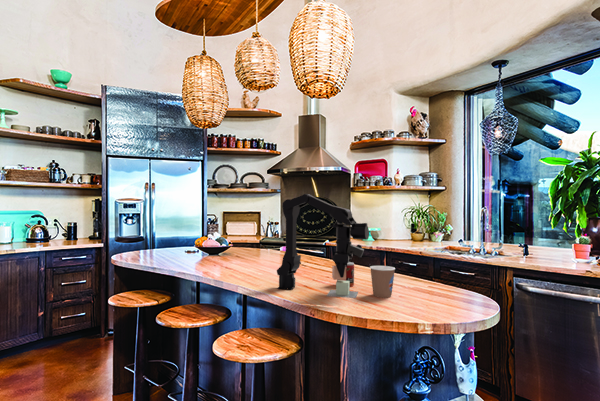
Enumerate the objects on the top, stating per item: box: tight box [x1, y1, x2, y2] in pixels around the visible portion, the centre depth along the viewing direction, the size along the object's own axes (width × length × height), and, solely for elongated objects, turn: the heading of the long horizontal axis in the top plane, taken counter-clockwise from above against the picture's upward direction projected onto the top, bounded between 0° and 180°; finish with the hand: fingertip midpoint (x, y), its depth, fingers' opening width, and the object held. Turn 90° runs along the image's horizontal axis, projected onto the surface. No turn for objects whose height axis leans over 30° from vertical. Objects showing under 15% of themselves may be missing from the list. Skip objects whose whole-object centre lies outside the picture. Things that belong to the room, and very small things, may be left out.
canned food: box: [336, 261, 355, 288], centre depth 170 cm, size 8×8×11 cm
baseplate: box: [326, 289, 359, 299], centre depth 153 cm, size 12×12×1 cm
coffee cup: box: [369, 265, 396, 299], centre depth 151 cm, size 10×10×12 cm
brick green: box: [335, 280, 351, 295], centre depth 153 cm, size 5×5×5 cm
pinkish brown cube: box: [331, 265, 346, 281], centre depth 153 cm, size 5×5×5 cm
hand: (342, 276), depth 153 cm, fingers closed on pinkish brown cube, 5 cm apart
